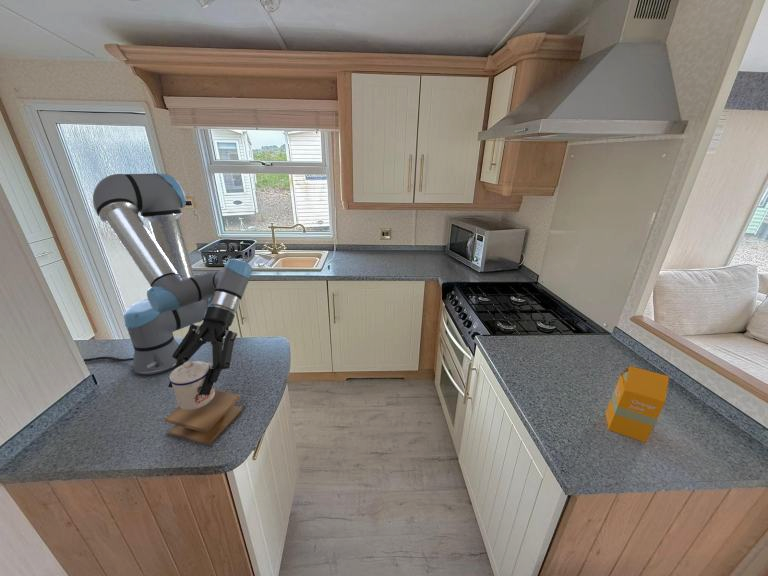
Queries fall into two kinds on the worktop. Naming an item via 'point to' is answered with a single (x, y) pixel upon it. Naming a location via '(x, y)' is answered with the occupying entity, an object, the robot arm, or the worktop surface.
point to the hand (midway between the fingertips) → (188, 391)
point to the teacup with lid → (191, 384)
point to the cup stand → (205, 418)
